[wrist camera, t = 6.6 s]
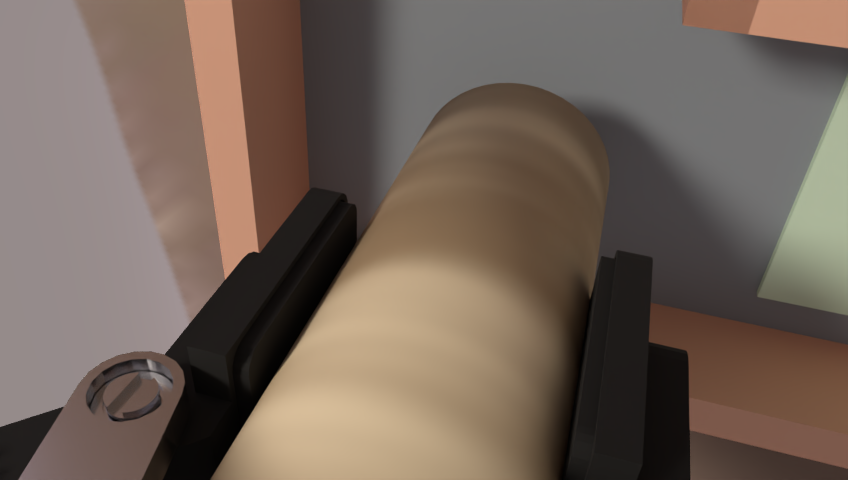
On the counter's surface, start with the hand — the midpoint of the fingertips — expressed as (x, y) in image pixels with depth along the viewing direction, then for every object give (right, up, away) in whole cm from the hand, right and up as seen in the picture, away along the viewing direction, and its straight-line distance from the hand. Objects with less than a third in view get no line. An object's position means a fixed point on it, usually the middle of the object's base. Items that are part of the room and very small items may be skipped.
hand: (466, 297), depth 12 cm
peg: (+1, +2, +3) cm, 4 cm away
